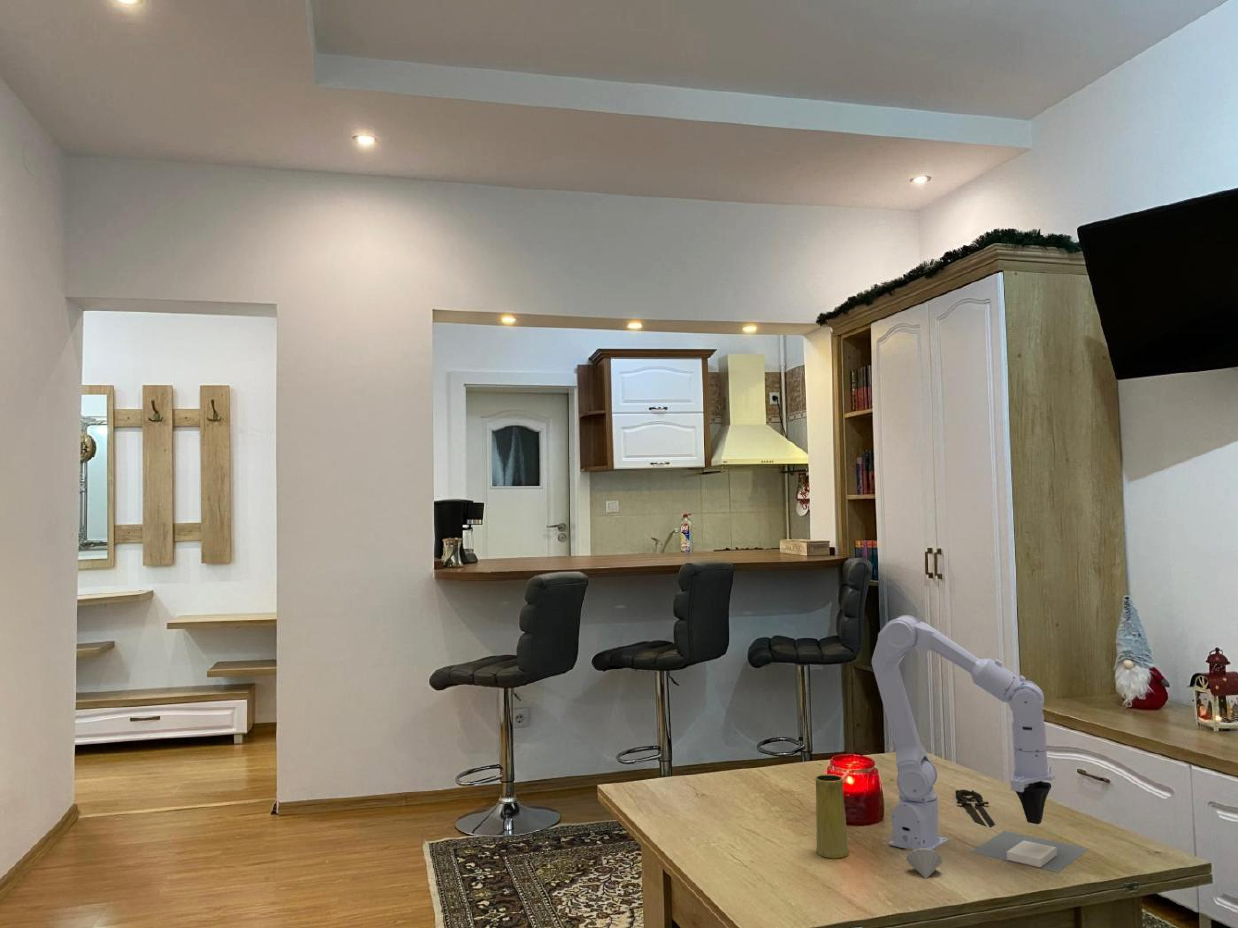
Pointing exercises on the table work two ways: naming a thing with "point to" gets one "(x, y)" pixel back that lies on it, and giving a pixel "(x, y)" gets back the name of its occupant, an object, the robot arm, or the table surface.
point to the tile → (1031, 853)
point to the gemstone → (924, 861)
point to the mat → (1008, 840)
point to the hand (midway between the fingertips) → (1034, 822)
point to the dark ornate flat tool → (972, 811)
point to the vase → (830, 817)
